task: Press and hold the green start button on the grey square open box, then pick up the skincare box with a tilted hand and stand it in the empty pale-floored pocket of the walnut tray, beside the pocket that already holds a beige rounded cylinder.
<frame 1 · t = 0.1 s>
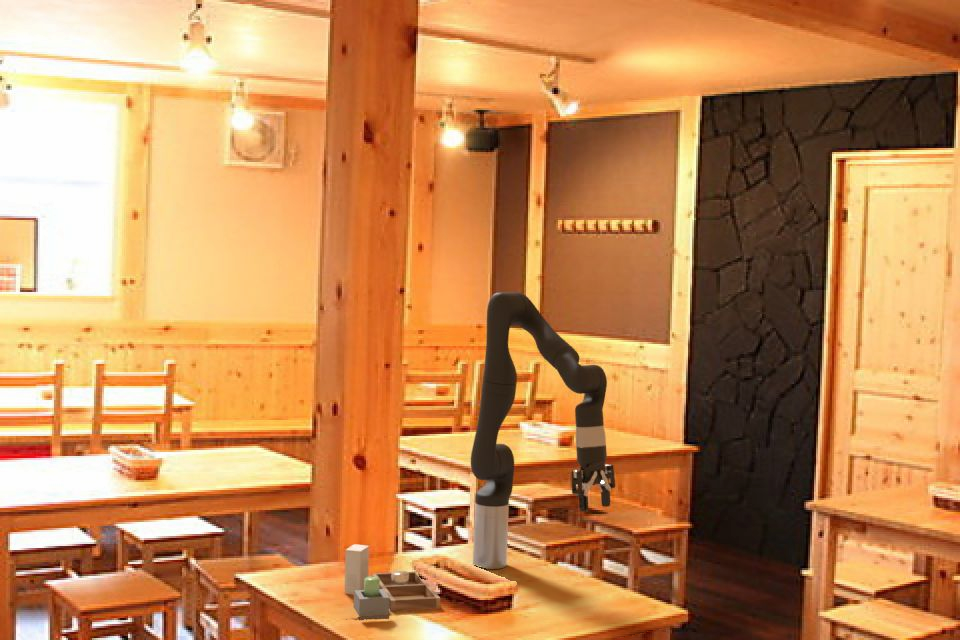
hand: (595, 508, 304), 22 cm above the table, fingers open, 8 cm apart
tray: (404, 599, 297), on the table
start button: (371, 587, 283), point 7 cm above the table, slide at 0.0 cm
skincare box: (356, 595, 299), on the table
beige rounded cylinder: (399, 588, 302), point 1 cm above the table, touching tray
grey square open box: (370, 614, 284), on the table
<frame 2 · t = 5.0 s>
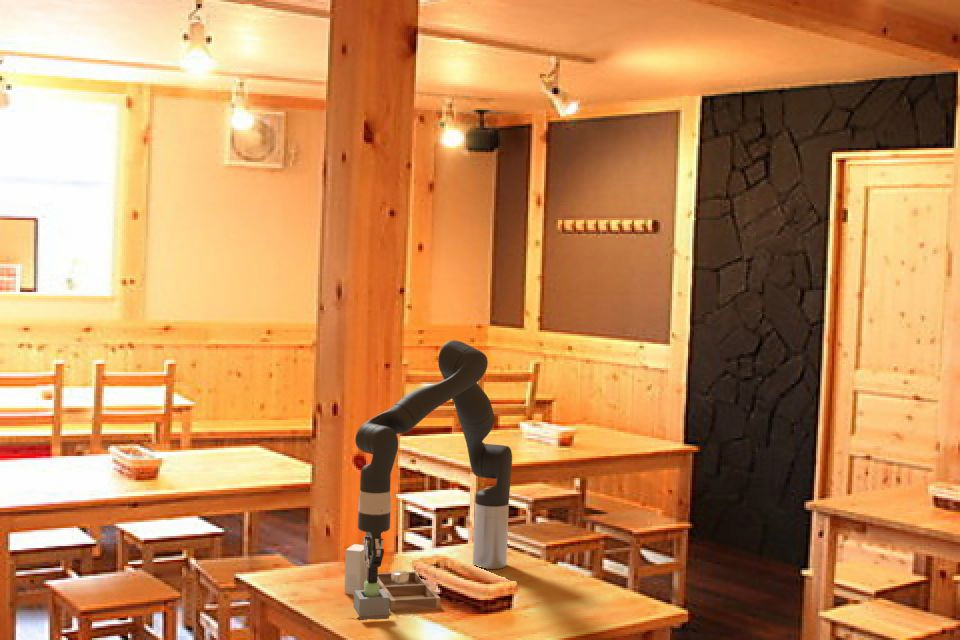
hand: (372, 582, 283), 8 cm above the table, fingers closed
start button: (371, 590, 283), point 6 cm above the table, slide at 0.8 cm, touching gripper
everything else where it was.
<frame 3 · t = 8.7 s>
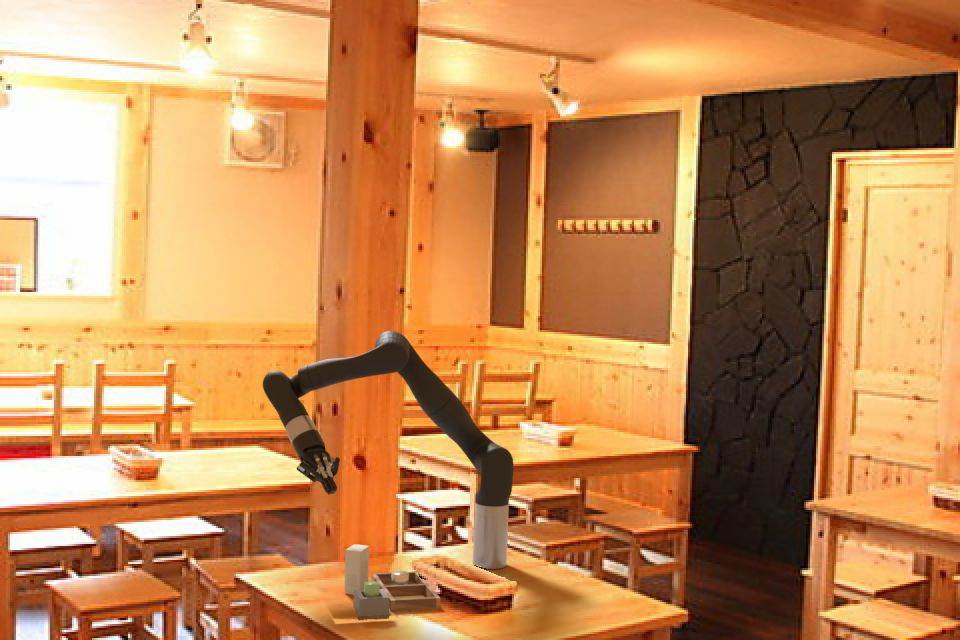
hand: (332, 492, 305), 24 cm above the table, fingers closed
start button: (371, 592, 283), point 5 cm above the table, slide at 1.1 cm
everything else where it was.
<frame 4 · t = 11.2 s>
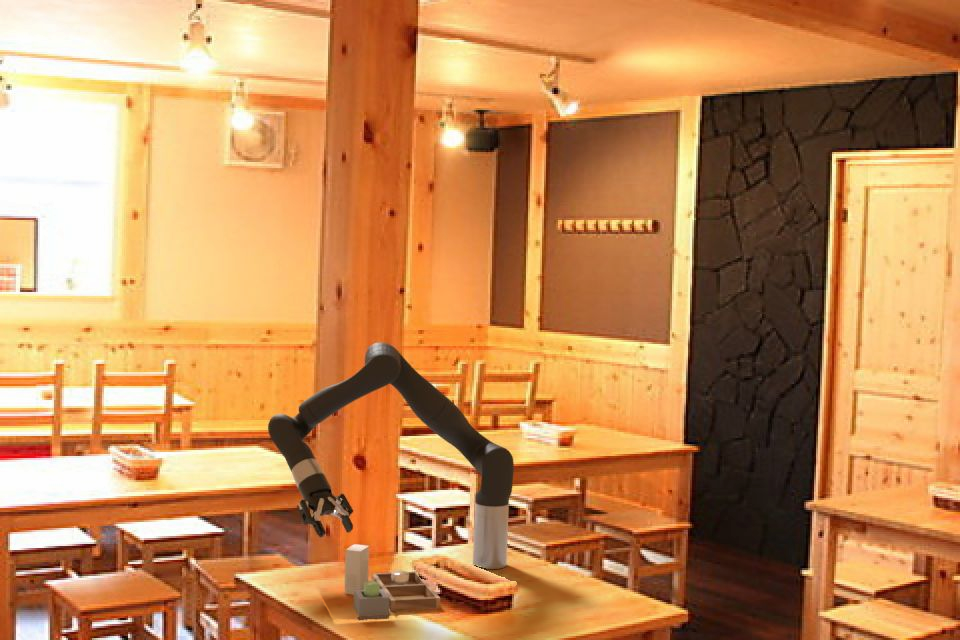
hand: (337, 533, 304), 14 cm above the table, fingers open, 8 cm apart
nothing on the table moved.
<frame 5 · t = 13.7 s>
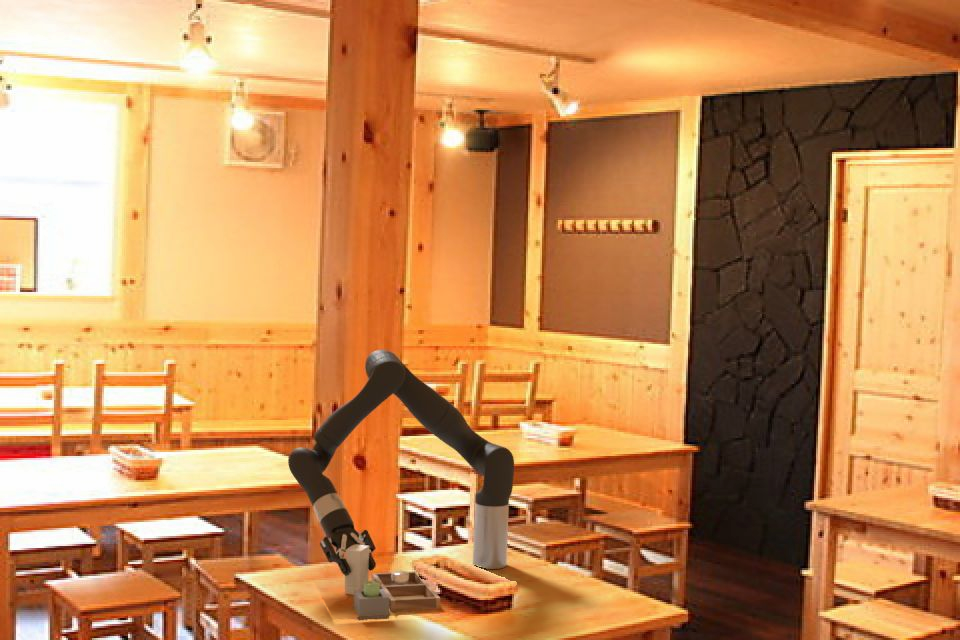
hand: (360, 571, 297), 6 cm above the table, fingers closed on skincare box, 7 cm apart
skincare box: (356, 595, 299), on the table, touching gripper
everything else where it was.
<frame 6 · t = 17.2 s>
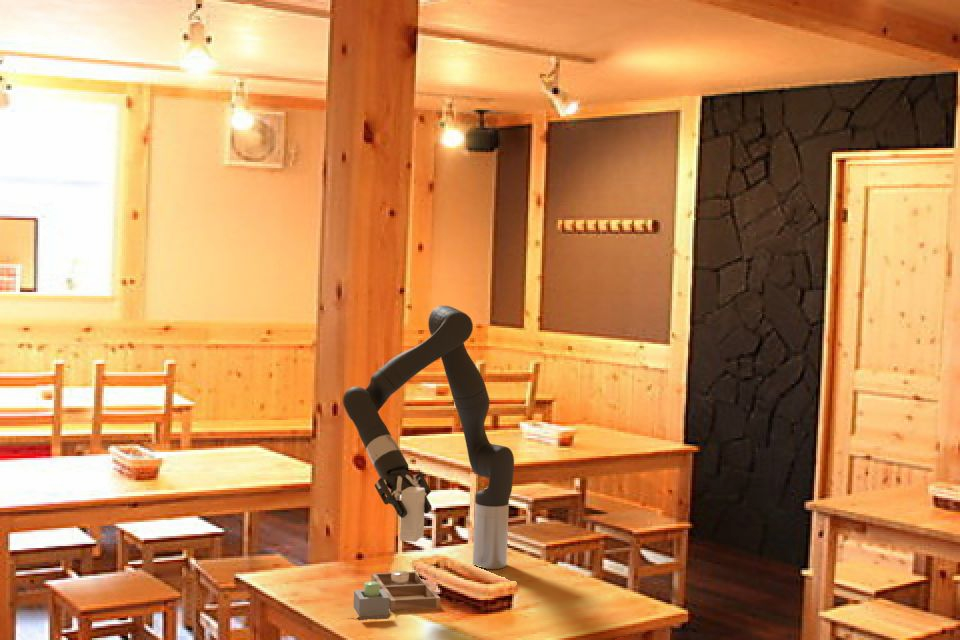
hand: (416, 513, 289), 23 cm above the table, fingers closed on skincare box, 7 cm apart
skincare box: (411, 539, 291), point 16 cm above the table, touching gripper
everything else where it was.
when the fingers open (9 cm above the table, at t = 21.0 s): skincare box drops 1 cm, resting on tray.
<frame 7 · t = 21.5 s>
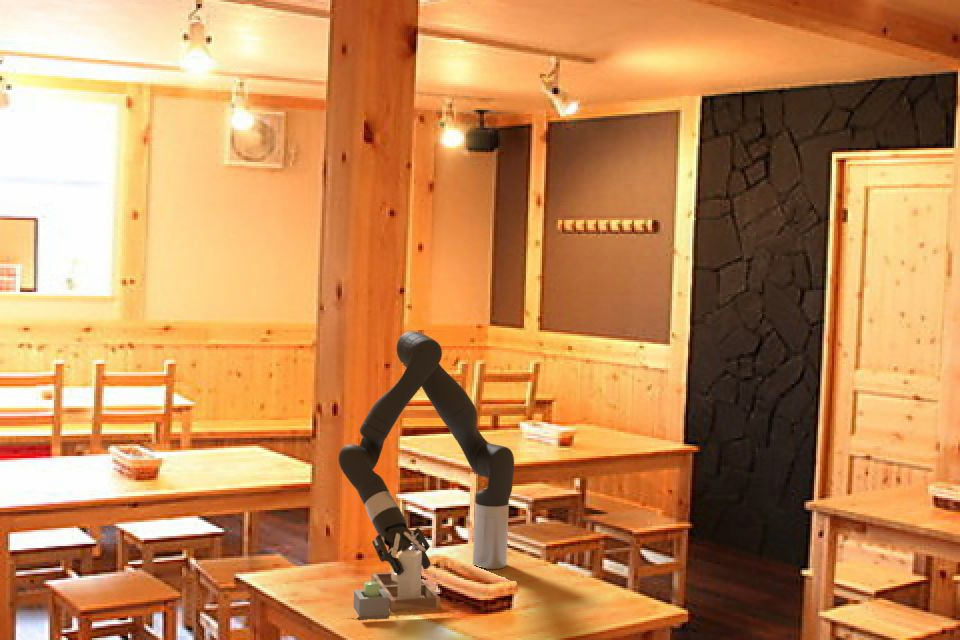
hand: (414, 570, 290), 9 cm above the table, fingers open, 8 cm apart
skincare box: (408, 602, 292), point 1 cm above the table, touching tray
everything else where it was.
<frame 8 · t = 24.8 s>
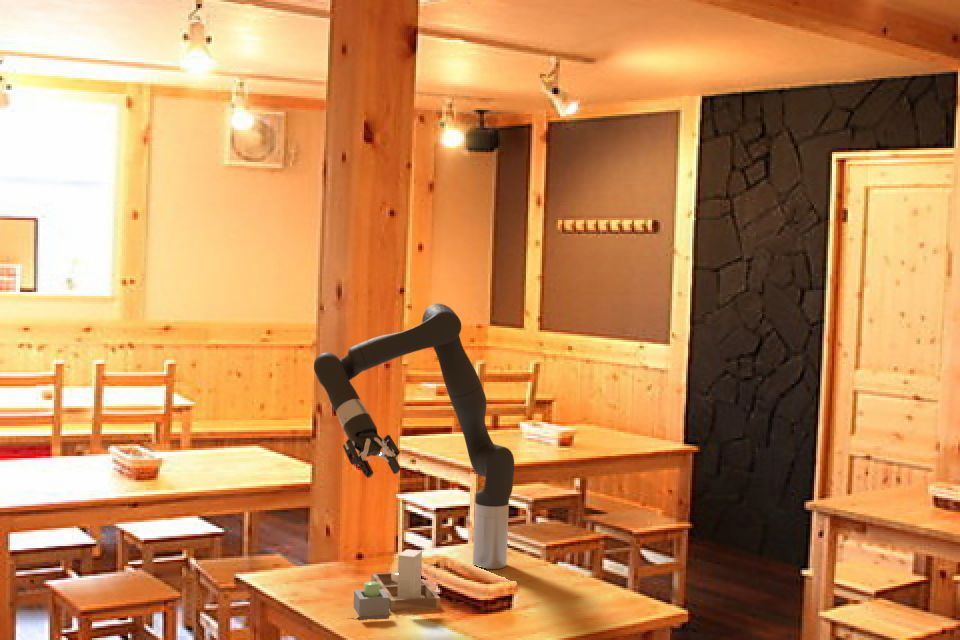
hand: (384, 473, 296), 31 cm above the table, fingers open, 8 cm apart
nothing on the table moved.
at the end: skincare box inside the target area on the tray (0.2 cm from its centre), point 0.9 cm above the tray's base; skincare box tilted 0°; start button slide at 1.1 cm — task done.
